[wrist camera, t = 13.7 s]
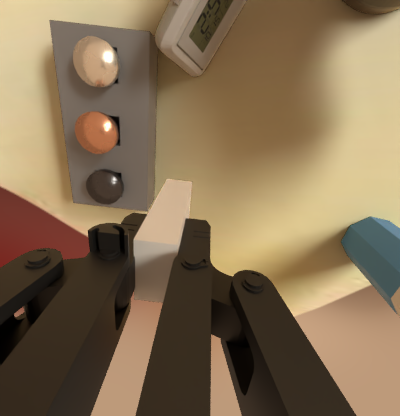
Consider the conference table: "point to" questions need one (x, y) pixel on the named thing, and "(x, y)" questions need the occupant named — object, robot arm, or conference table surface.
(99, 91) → the panel
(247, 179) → the conference table surface
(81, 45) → the plunger ivory
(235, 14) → the digital clock
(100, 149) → the plunger terracotta
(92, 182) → the plunger black
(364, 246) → the water bottle
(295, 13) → the conference table surface
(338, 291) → the conference table surface
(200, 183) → the conference table surface
